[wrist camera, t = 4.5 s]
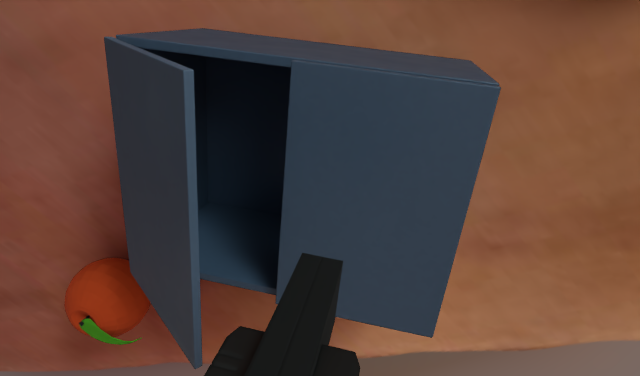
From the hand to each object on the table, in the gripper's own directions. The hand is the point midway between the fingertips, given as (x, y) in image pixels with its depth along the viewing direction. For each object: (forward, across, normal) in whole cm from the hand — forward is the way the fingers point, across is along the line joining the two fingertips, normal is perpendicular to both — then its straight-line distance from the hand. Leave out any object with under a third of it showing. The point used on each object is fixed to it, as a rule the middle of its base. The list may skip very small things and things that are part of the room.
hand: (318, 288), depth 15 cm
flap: (+4, -9, 0) cm, 10 cm away
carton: (+17, -4, 0) cm, 17 cm away
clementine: (+17, -20, -16) cm, 31 cm away
